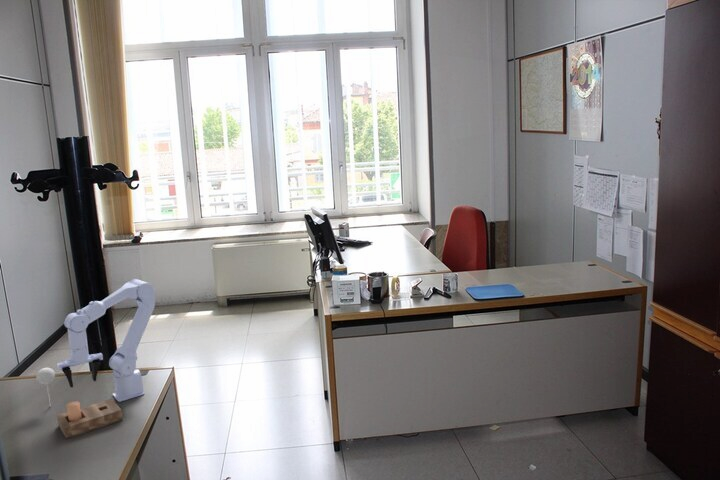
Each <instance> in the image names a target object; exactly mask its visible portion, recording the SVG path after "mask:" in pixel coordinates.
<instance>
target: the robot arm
mask: <svg viewBox="0 0 720 480" xmlns="http://www.w3.org/2000/svg"><path fill="white" fill-rule="evenodd" d="M156 293H157V290H156V289H155V287H154V286H153V284H152V283H150V282H148V281H143V280H141V279H139V278H133V279H132V280H130V281H128V282H126V283H124V284H123V286H121V287H120V288H118V289H117V290H115V291H114V292H112V293H111V294H109V295H108V296H107V297H105V298H104V299H102V300H100V301H99V300H94V301H93V300H92V301H90V302H89V303H88V305H86V306H85V307H82V308H81V309H77V310H76V312H71V313H69V314H68V315H66V317H65V319H64V321H63V325H64V327H65V328H66V329H67V335H68V344H69V345H68V346H69V351H70V353H69V354H70V358H69V359H66V360H64V361H61V362H57V363H56V367H57V370H58V371H62V372H63V374H64V375H65V377H66V380H67V382H68V384H69V387H70V388H73V387H74V383H73V378H72V374H73V373H72V370H71V367H75V366H79V365H84V364H86V363H89V364H90V367H91V374H92V375H91V377H92V380H93V382H97V377H98V372H99V369H100V366H101V364H102V361H103V360H104V355H103V353H102V352H99V353H93V354H92V353H91V354H89V346H88V345H89V344H88V335H87V328H88V326H89V324H91V323H93V322H94V321H96V320H98V319H99V318H101V317H103V316H104V315H105V314H106V311H107V309H109V308H111V307H112V306H114V305H116V304H119V303H120V302H122V301H124V300H126V299H134V301H135V302H136V303H137V306H138V307H137V309H136V312H135V315H134V317H133V319H132V321H131V324H130V325H129V327H128V330H127V333H126V335H125V337H124V340H123V343H122V345H121V346H119V347H118V348H117V349H116V350H115V352H114V354H113V355H112V356H111V357H110V358H109V360H108V366H109V367H110V369H112V372H113V373H112V376H113V377H112V378H113V384H114V390H115V391H114V392H113V393H112V396H113V397H114V398H115V400H117V402H119V403H120V402H124V401H127V400H131V399H133V398H137V397H139V396H144V395H145V391H144V386H143V385H144V384H143V377H142V374H141V371H140V369H139V368H138V369H136V368H137V360H138V354H137V350H138V347H139V345H140V342H141V340H142V337H143V336H144V333H145V331H146V328H147V326H148V323H149V322H150V318H151V317H152V314H153V313H154V309H155V306H156V303H155V302H156V299H155V296H156Z"/></svg>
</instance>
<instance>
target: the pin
mask: <svg viewBox="0 0 720 480" xmlns="http://www.w3.org/2000/svg"><path fill="white" fill-rule="evenodd" d="M65 407H66V411H67V413H68V418H69V422H73V421H76V420H79V419H82V415H81V409H80V408H81V403H80V402H79V401H78V400H77V401H76V400H75V401H70V402H69V403H67V404H66V406H65Z"/></svg>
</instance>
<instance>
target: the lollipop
mask: <svg viewBox="0 0 720 480" xmlns="http://www.w3.org/2000/svg"><path fill="white" fill-rule="evenodd" d="M55 377H56V372H55V371H54V369H53V368H52V367H51V368H50V367H43V368H41V369H39V370H38V371H37V373H36V376H35V378H36V381H37V382H38V383H39V384H42V385H46V391H47V398H48V402H49V403H48V404H49V407H50V408H51V407H52V403H51V395H50V389H49V384H51V383H52V382H53V381H54V380H55Z"/></svg>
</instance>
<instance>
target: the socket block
mask: <svg viewBox="0 0 720 480" xmlns="http://www.w3.org/2000/svg"><path fill="white" fill-rule="evenodd" d="M80 409H81V415H82V419H79V420H76V421H73V422H69V418H68V413H67V412H63V413H60V414H57V416H56V419H57V424H58V427H59V430H61V432H62V434H63V436H64V437H65V439H66V440H68V439H71V438H74V437H77V436H80V435H82V434H85V433H89V432H92V431H95V430H97V429H102V428H104V427H107V426H110V425H114V424H115V423H116V424H117V423H120V422H122V421H123V420H124V418H123V411H122V408H121V407H120V406H119V405H118V403H116V401H115V400H114V399H113V398H109V399H106V400H102V401H100V402H95V403H93V404H90V405H87V406H83V407H80Z"/></svg>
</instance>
